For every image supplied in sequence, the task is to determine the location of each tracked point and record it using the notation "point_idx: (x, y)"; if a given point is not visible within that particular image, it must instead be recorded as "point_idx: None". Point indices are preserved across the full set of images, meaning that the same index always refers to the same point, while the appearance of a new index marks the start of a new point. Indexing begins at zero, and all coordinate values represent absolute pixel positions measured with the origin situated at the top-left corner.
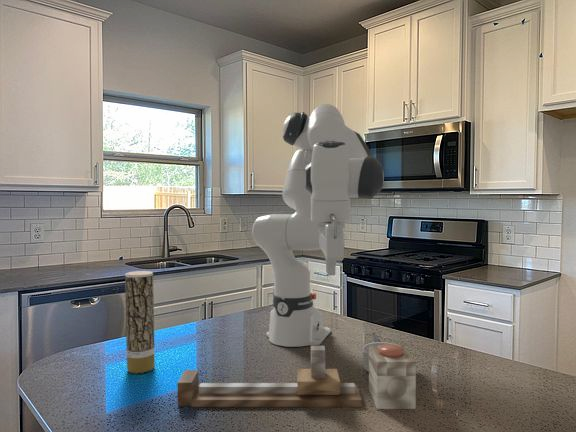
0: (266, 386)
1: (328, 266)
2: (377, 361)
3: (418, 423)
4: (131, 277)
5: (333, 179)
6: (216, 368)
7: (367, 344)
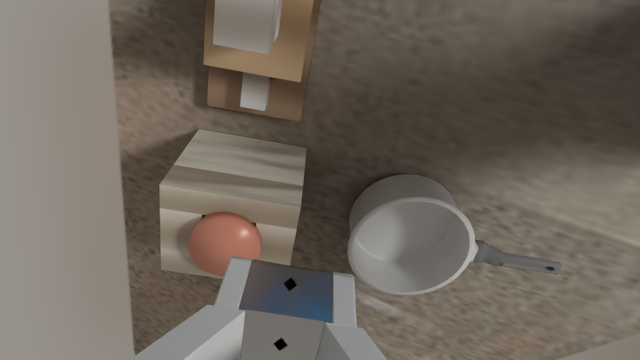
0: None
1: (195, 323)
2: (160, 185)
3: (137, 183)
4: None
5: None
6: None
7: (466, 224)
